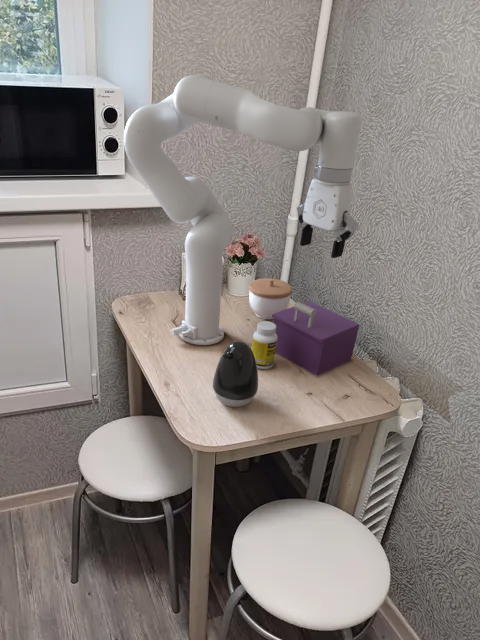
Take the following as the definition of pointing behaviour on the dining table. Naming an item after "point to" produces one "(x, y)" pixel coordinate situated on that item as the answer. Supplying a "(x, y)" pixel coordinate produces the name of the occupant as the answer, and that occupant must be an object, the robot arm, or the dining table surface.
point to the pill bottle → (264, 344)
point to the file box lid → (315, 321)
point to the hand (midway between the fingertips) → (320, 250)
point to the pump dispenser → (236, 375)
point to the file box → (314, 348)
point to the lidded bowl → (269, 297)
